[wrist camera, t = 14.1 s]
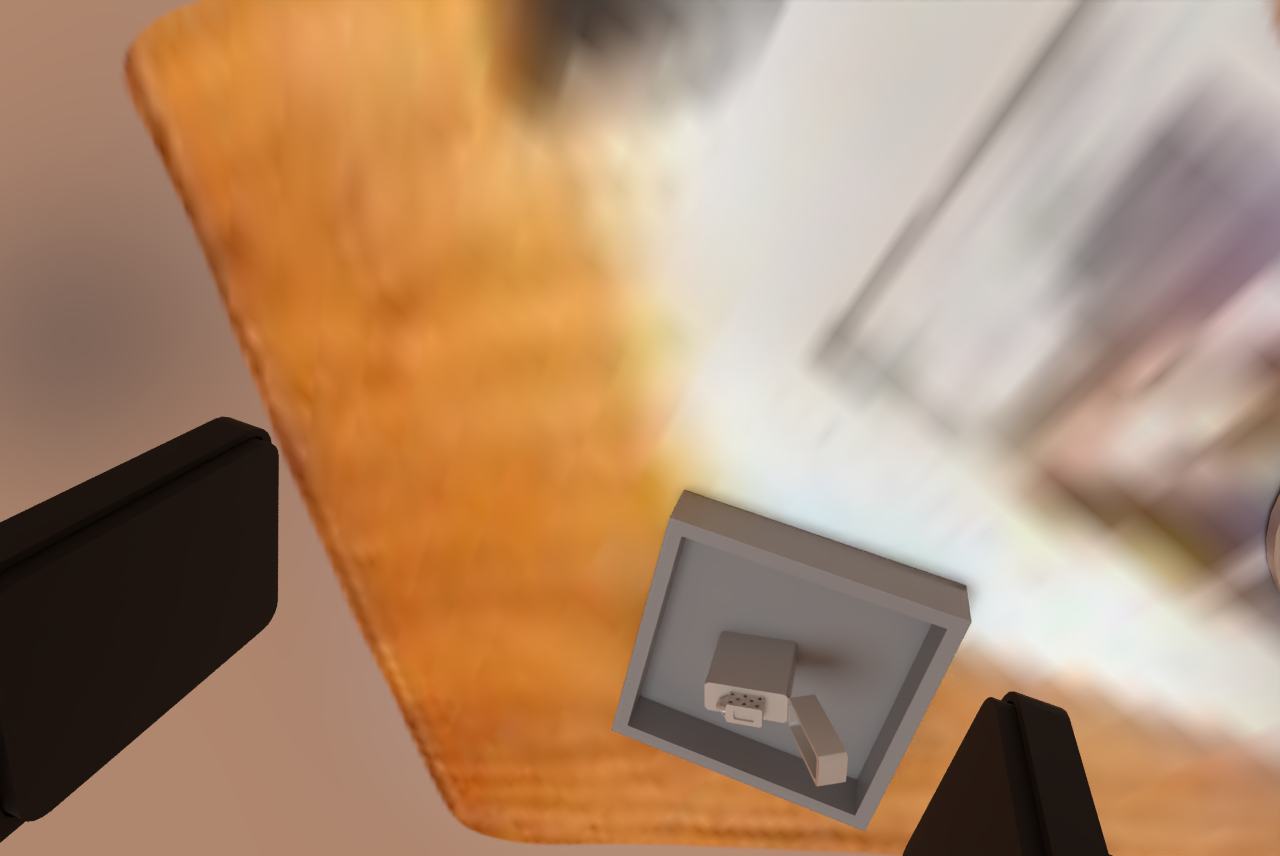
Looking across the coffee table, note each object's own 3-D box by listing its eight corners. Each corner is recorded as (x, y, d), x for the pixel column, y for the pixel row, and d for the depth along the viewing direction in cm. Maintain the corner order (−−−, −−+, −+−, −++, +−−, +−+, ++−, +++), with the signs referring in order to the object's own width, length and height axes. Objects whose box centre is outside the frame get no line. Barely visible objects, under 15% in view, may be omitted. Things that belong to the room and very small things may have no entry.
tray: (966, 585, 39) (971, 621, 36) (866, 788, 45) (864, 831, 43) (684, 490, 41) (669, 517, 39) (627, 694, 48) (611, 730, 45)
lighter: (720, 656, 44) (687, 763, 37) (720, 630, 43) (687, 735, 36) (852, 676, 42) (844, 794, 35) (854, 650, 41) (847, 764, 34)
